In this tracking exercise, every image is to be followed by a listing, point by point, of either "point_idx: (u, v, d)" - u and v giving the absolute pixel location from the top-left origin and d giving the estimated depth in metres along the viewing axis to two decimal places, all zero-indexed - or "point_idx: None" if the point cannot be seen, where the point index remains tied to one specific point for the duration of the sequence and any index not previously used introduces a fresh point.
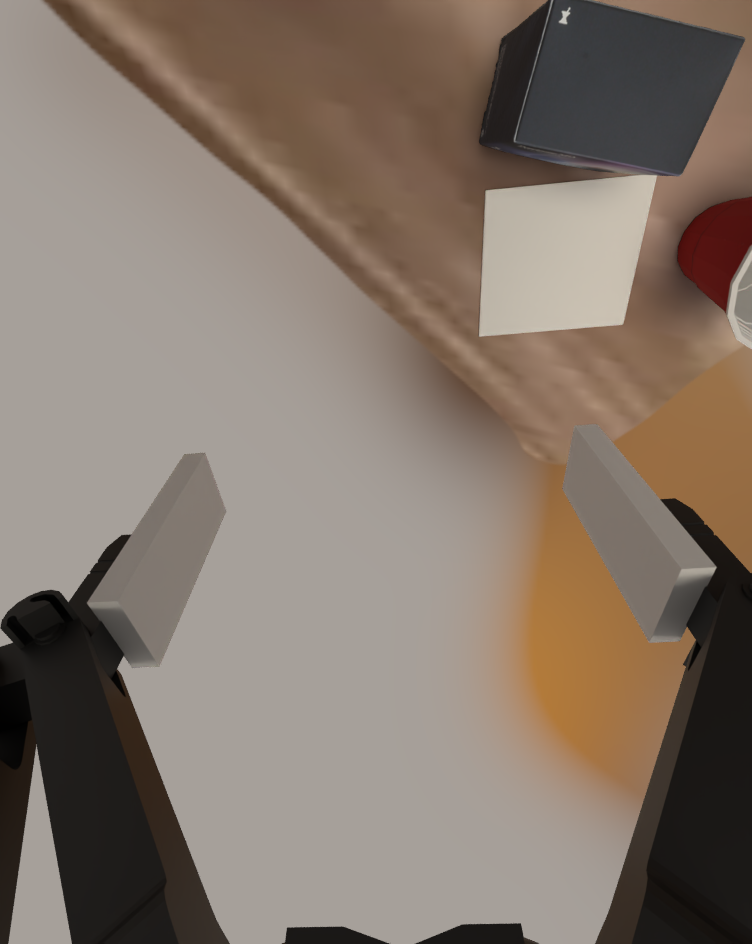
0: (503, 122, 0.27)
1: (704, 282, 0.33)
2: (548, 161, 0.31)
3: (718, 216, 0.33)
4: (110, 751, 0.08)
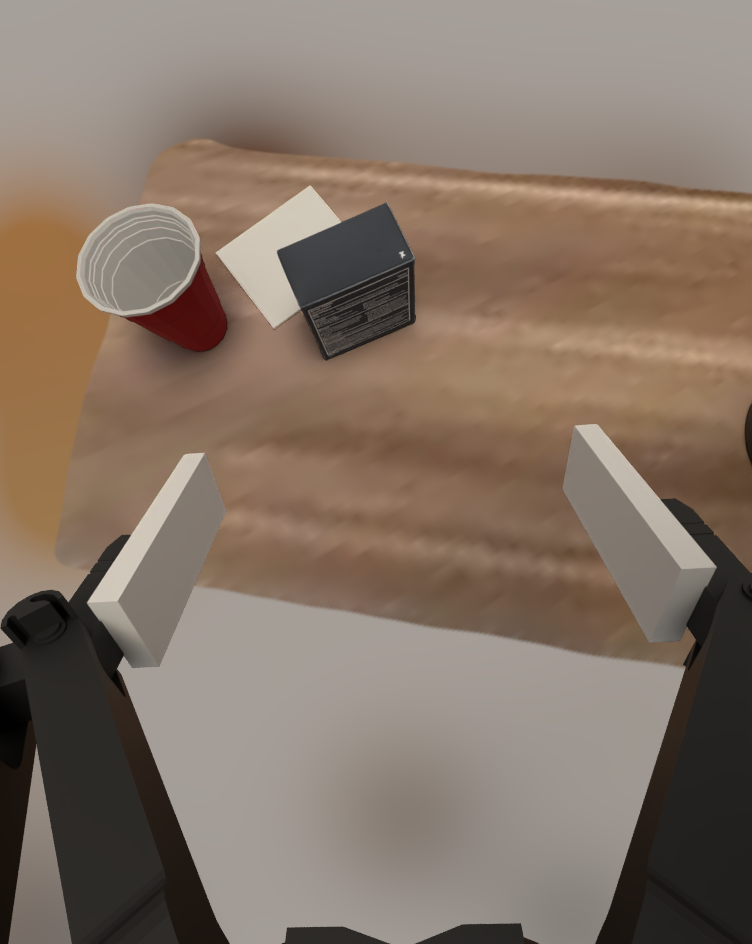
0: None
1: None
2: None
3: (219, 311, 0.44)
4: (110, 751, 0.08)
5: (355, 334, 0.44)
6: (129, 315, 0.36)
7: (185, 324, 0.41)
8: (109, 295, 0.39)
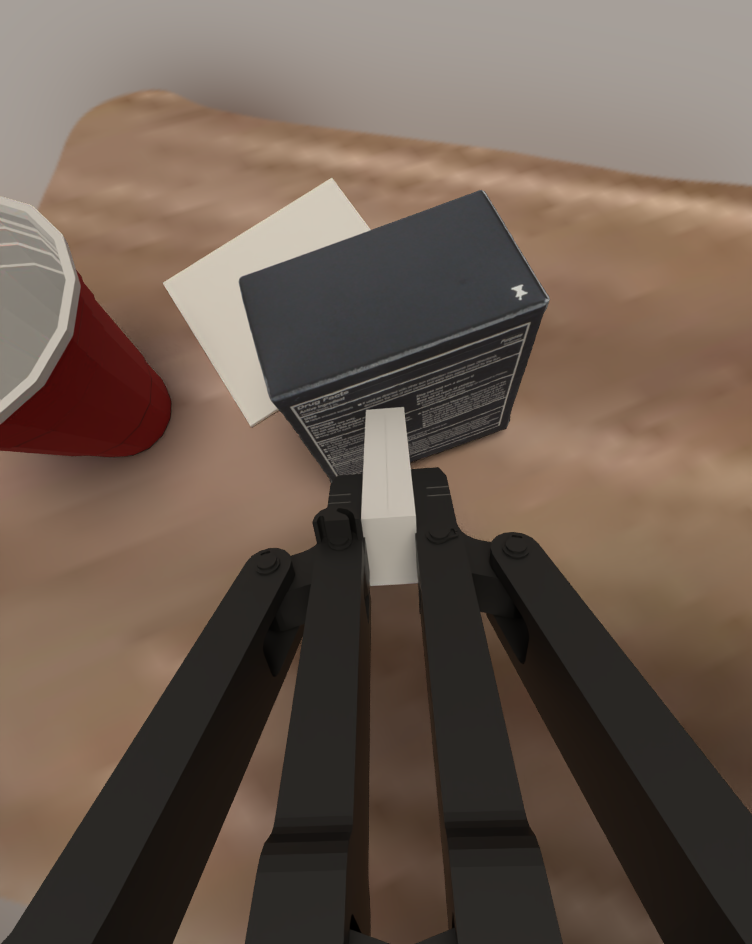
0: None
1: None
2: None
3: (147, 400, 0.24)
4: (348, 674, 0.09)
5: None
6: None
7: (62, 441, 0.20)
8: None
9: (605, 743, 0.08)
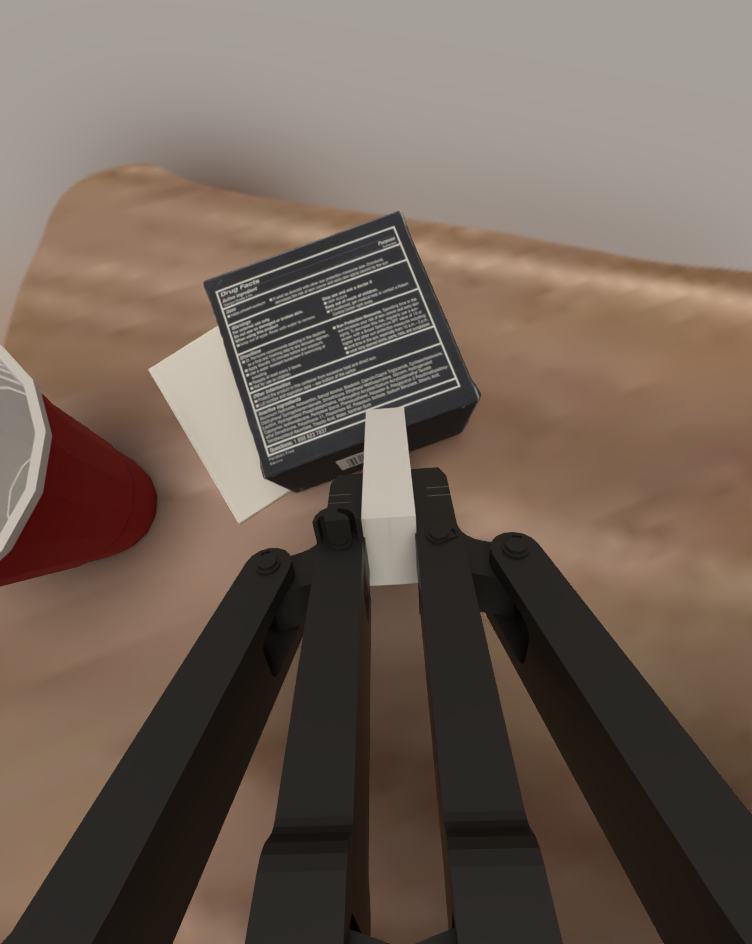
0: None
1: (82, 425, 0.22)
2: None
3: (130, 509, 0.23)
4: (348, 674, 0.09)
5: (325, 394, 0.20)
6: None
7: (37, 572, 0.19)
8: None
9: (605, 744, 0.08)
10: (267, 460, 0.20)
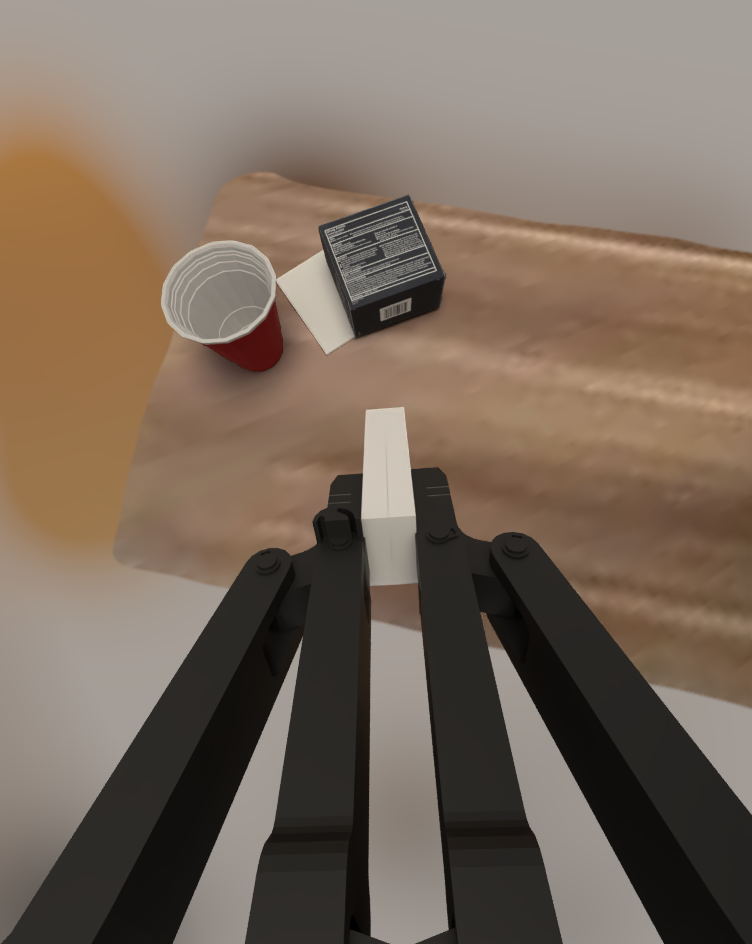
0: None
1: None
2: None
3: (280, 337, 0.48)
4: (348, 674, 0.09)
5: (376, 274, 0.45)
6: (209, 343, 0.40)
7: (252, 350, 0.44)
8: (186, 320, 0.43)
9: (605, 744, 0.08)
10: (351, 302, 0.45)
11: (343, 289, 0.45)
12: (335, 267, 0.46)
